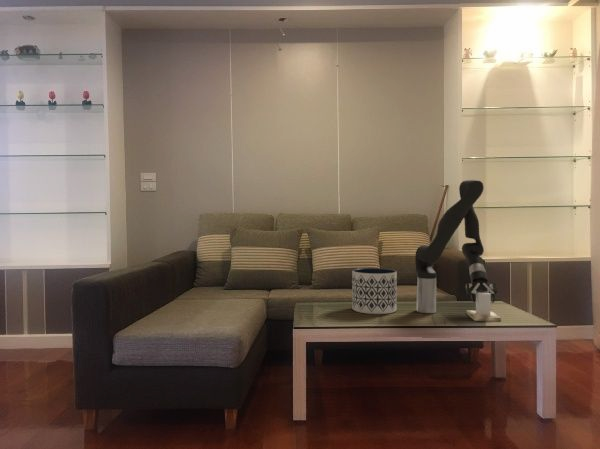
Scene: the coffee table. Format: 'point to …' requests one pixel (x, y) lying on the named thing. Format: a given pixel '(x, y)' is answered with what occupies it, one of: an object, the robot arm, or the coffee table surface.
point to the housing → (483, 303)
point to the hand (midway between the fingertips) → (483, 301)
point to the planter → (374, 290)
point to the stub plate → (483, 316)
